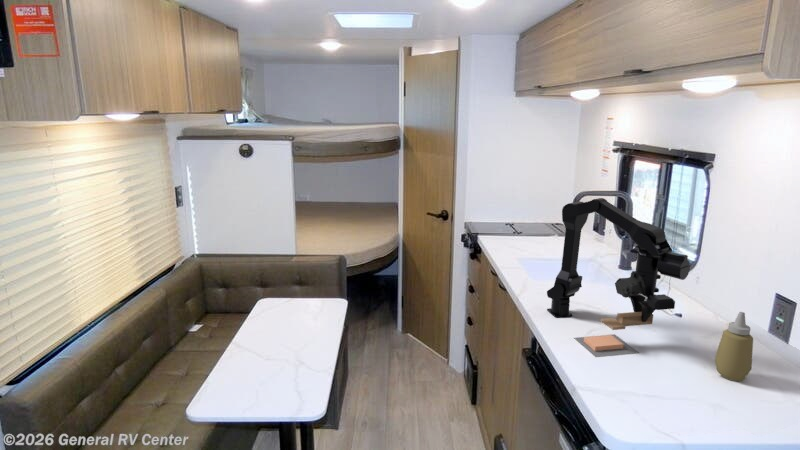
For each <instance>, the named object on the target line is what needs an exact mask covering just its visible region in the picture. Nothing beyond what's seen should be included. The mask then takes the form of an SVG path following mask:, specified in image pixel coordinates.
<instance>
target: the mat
mask: <svg viewBox="0 0 800 450" xmlns="http://www.w3.org/2000/svg"><path fill="white" fill-rule="evenodd" d="M605 335H606V334H605ZM605 335H603V334H602V335H601V336H605ZM611 335H612V336H613V337H615V338H616V339H617V340H619V341H620V342H621V343H623V344H624V345H623V349H613V350H602V351H594V350H593V349H592V348H591V347H590V346H588V345H587V344H586V343H585V342H584V337H585V336H580V337H579V336H578V337H573V339H575V340H576V342H578V344H579V345H581V346H582V347H583V348H584V349H585V350H587V351H588V352H589V353H590V354H591V355H592V356H594V357H595V358H603V357H614V356H623V355H624V356H625V355H634V354H640V351H639V350H637V349H635V348H634V347H633V346H631V345H630V344H629V343H627V342H626V341H624V340H623V339H622V338H621V337H619V336H617V335H616V334H615V333H614V334H611ZM593 336H594V335H593ZM593 336H592V335H591V336H589V337H593Z"/></svg>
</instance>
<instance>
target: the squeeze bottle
mask: <svg viewBox="0 0 800 450" xmlns="http://www.w3.org/2000/svg"><path fill="white" fill-rule="evenodd" d="M750 333H751V326H749V325H747V323H746V313H745V312H743V311H739V312H738V313H737V316H736V318H735V320H734V321H733V322H732V321H731V322H729V323H728V325H727V329H725V330H723V331H722V334H721V338H720V340H719V342H718V343H719V344H718V348H717V350H716V354H715V356H714V363H715V366H716V371H717V373H718V374H719V375H720V377H722V378H724V379H727V380H729V381H732V382H733V381H735V382H742V381H744V380H745V379H746V377H747V376H748V375H749V373H750V372H751V371H752V366H753V347H754V346H753V345H754V337H753V335H751V334H750Z"/></svg>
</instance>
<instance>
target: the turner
mask: <svg viewBox="0 0 800 450" xmlns="http://www.w3.org/2000/svg"><path fill="white" fill-rule="evenodd" d="M641 316H642V312H634V311H632V312H618V313H617V314H616V318H614V317H608V318H600V322H601V323H602V324H604V325H605V326H607V327H608V328H609V329H611V330H612V331H618V330H626V327H631V326H634V327H635V326H643V325H644V326H646V325H652V324H653V320H654V313H652V314H651V316H650V317H649V318H648V319H647V321H646V322H642V318H641Z"/></svg>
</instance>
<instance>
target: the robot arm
mask: <svg viewBox="0 0 800 450" xmlns="http://www.w3.org/2000/svg"><path fill="white" fill-rule="evenodd" d="M594 213H596V214H597V215H599V216H601V217H602V218H604V219H606V220H607V221H609V222H610V223H612V224H613V225H615V226H617V228H620V230H622V231H624V232H626V234H627V235H628V236H629V238H630V239H631V240H632V241H633V242H634V243H635V244H636V246H635V247H634V248H631V249H630V253H631V254H637V257H636V264H635V270H631V273H630V276H629V277H620V278H618V279H617V280H616V282H615V283H614V285H615V290H616V294H617V295H620V296H622V297H623V298H625V299H626V298H629V300H630V303H631V306H632V310H633V312H642V316H641V318H642V322H646V321H647V319H648V318H649V317H650V316H651V314H654V312H655V311H656V310H657V311H660V310H661V311H662V310H664V311H665V310H674V309H675V307H676V306H675V304H676V300H675V299H674V298H672V297H670V296H668V295H667V294H663V293H662V294H655V293H659V291H660V289H659V288H658V287H656V286H657V280H660V279H661V275H663V276H667V277H671V278H674V279H677V280H681V281H684V280H686V279H687V277H688V275H689V273H690V270H691V265H690V261H689V259H688V258H689V256H688V255H687V254H685V253H684V254H683V253H681V254H680V253H676V252H673V251H674V250H673V249H672V247H671V245H670V243H669V242H668V240H667V237H666V234H665V233H666V232H665V231H664V229H663V228H661V227H659V226H656V225H654V224H652V223H650V222H649V223H648V222H644V221H641V220H638V219H637V218H635V217H633V216H632V215H631V214H628V213H627V212H625V211H623V210H622V209H620V208H619V207H616V205H614V204H612V203H611V202H610V201H608V200H607V199H606V198H603V197H599V198H598V197H597V198H593V199H592V200H589V201H575V202H569V203H567V204H565V205H564V206H563V207H562V209H561V218H562V219H561V221H562V223H563V225H564V228H565V231H564V233H565V234H564V242H563V249H562V257H561V259H562V260H561V268H560V271H559V272H558V274H557V275H556V277H555V279H554V280H555V281H554V284H553V286H552V287H550V288H549V289H547V291H546V295H547V298H549V299H551V307H550V308H546V311H547V312H549V314H551V315H552V316H553V317H555V318H563V317H564V318H565V317H572V316H573V314H572V313H571V312H570V303H571V302H570V300H571V299H570V298H571V297H575V295H576V293H578V292H579V291H580V288H582V287H583V286H582V282H583V281H582V280H583V276H582V275H579V273H578V271H577V268H578V260H579V251H580V245H581V243H580V242H581V235H582V229H583V228H584V227H585V224H586V223H587V220H588V218H589V214H594ZM658 247H659V248H658Z"/></svg>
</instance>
